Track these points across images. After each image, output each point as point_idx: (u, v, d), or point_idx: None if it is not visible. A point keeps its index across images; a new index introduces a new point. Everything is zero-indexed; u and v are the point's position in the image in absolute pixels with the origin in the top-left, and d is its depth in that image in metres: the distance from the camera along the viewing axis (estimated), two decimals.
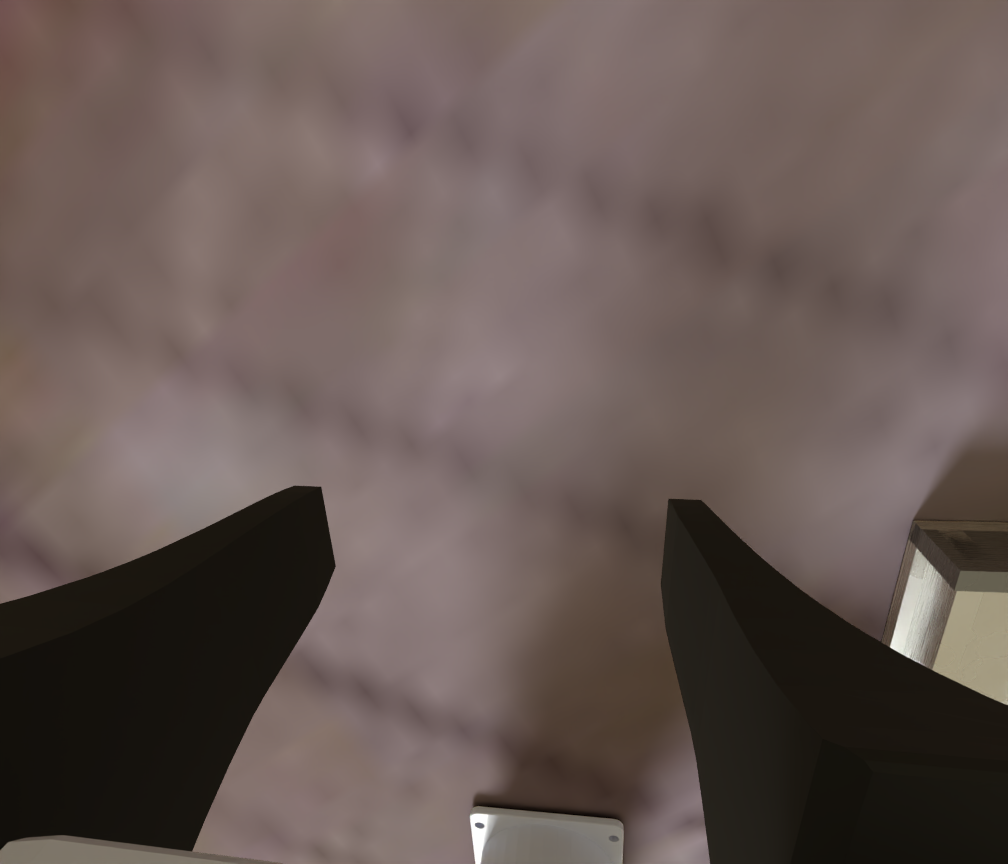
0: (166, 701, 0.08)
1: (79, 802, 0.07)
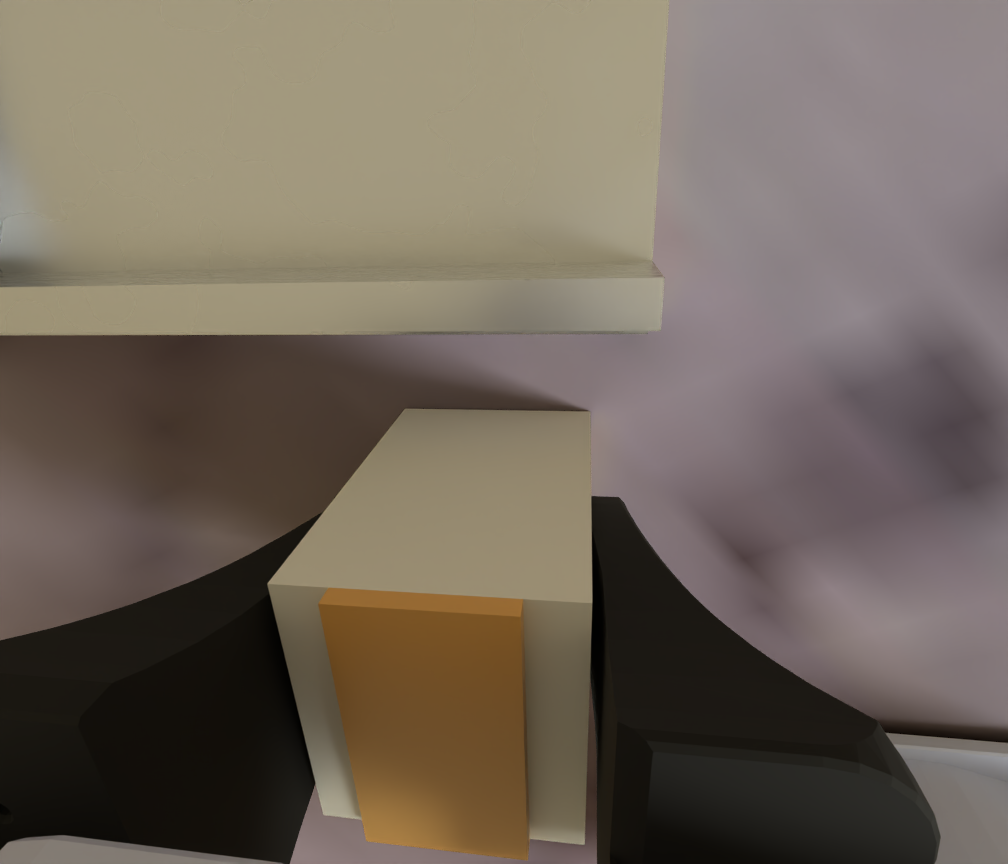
0: (270, 710, 0.08)
1: (202, 817, 0.06)
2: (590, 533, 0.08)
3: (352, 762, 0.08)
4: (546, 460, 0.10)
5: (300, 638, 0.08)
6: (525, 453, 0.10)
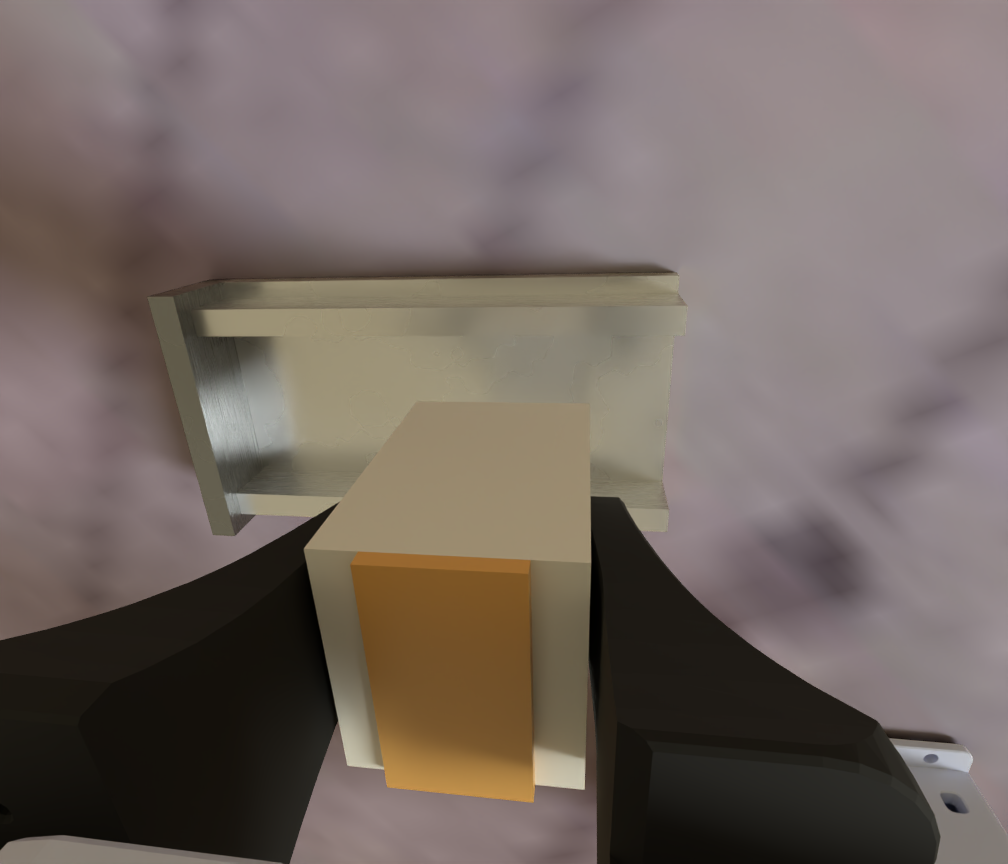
0: (270, 711, 0.08)
1: (202, 817, 0.06)
2: (589, 506, 0.09)
3: (376, 711, 0.09)
4: (549, 446, 0.11)
5: (331, 598, 0.08)
6: (529, 440, 0.11)
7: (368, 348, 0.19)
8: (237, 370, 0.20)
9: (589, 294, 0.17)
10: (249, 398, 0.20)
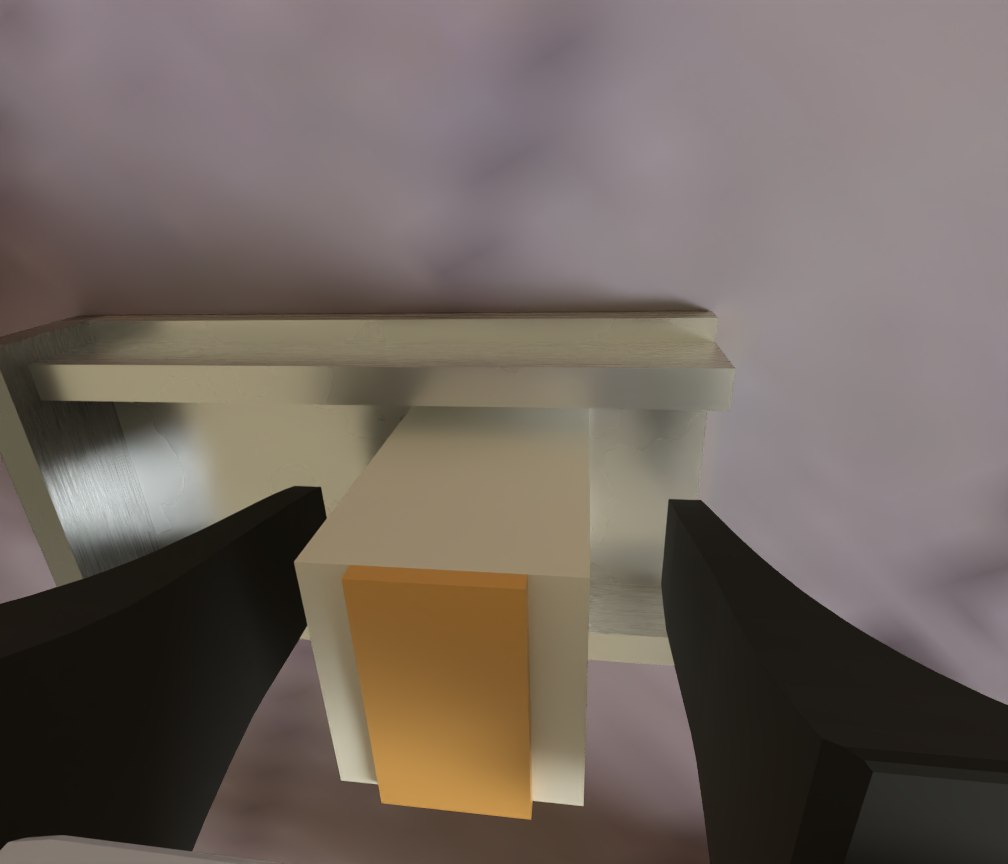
0: (166, 701, 0.08)
1: (79, 802, 0.07)
2: (588, 517, 0.09)
3: (370, 727, 0.09)
4: (547, 453, 0.11)
5: (323, 612, 0.08)
6: (527, 445, 0.11)
7: (288, 410, 0.14)
8: (117, 436, 0.15)
9: (589, 343, 0.12)
10: (138, 471, 0.15)
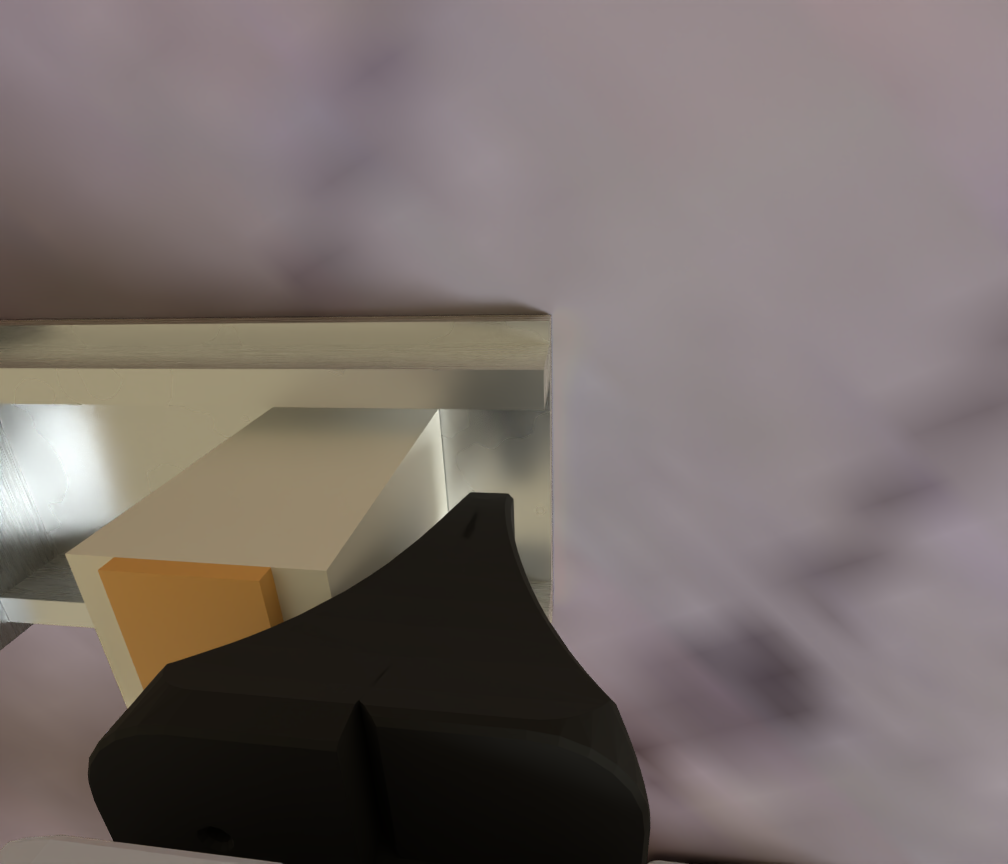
0: None
1: None
2: (364, 514, 0.09)
3: None
4: (368, 452, 0.11)
5: (100, 602, 0.09)
6: (354, 445, 0.12)
7: (158, 411, 0.14)
8: None
9: (431, 345, 0.13)
10: (24, 471, 0.16)
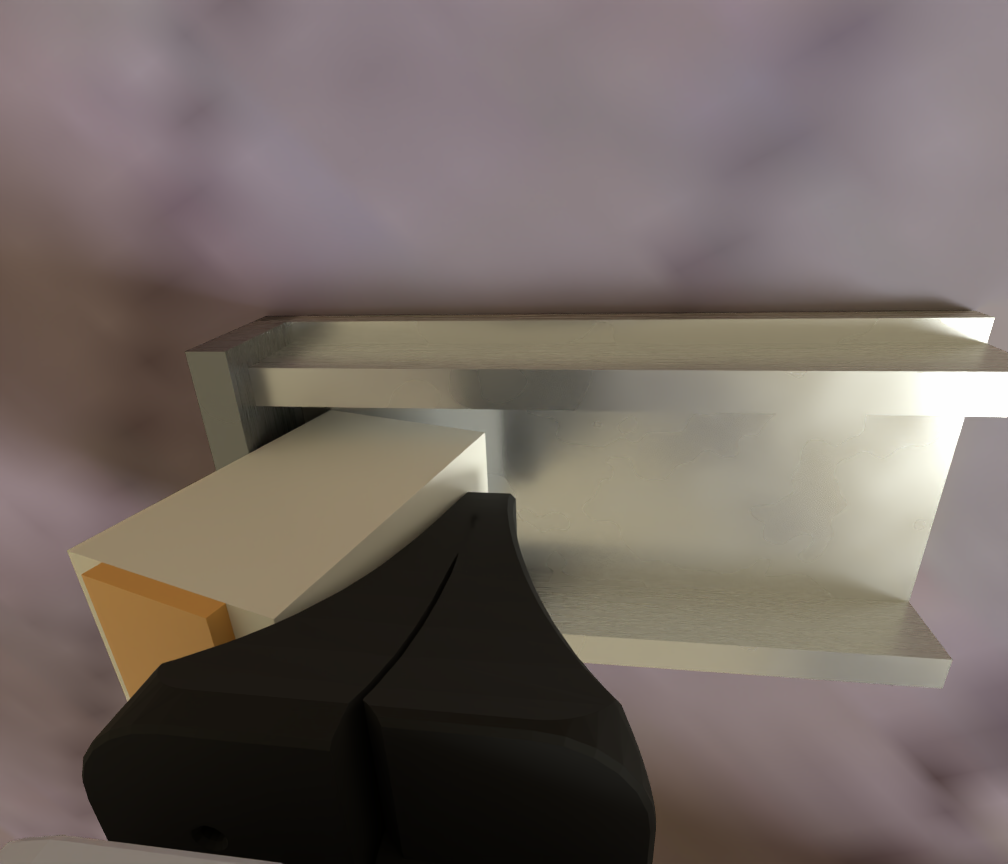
0: None
1: None
2: (346, 553, 0.08)
3: None
4: (389, 476, 0.10)
5: None
6: (379, 466, 0.11)
7: (496, 416, 0.13)
8: None
9: (847, 344, 0.11)
10: None
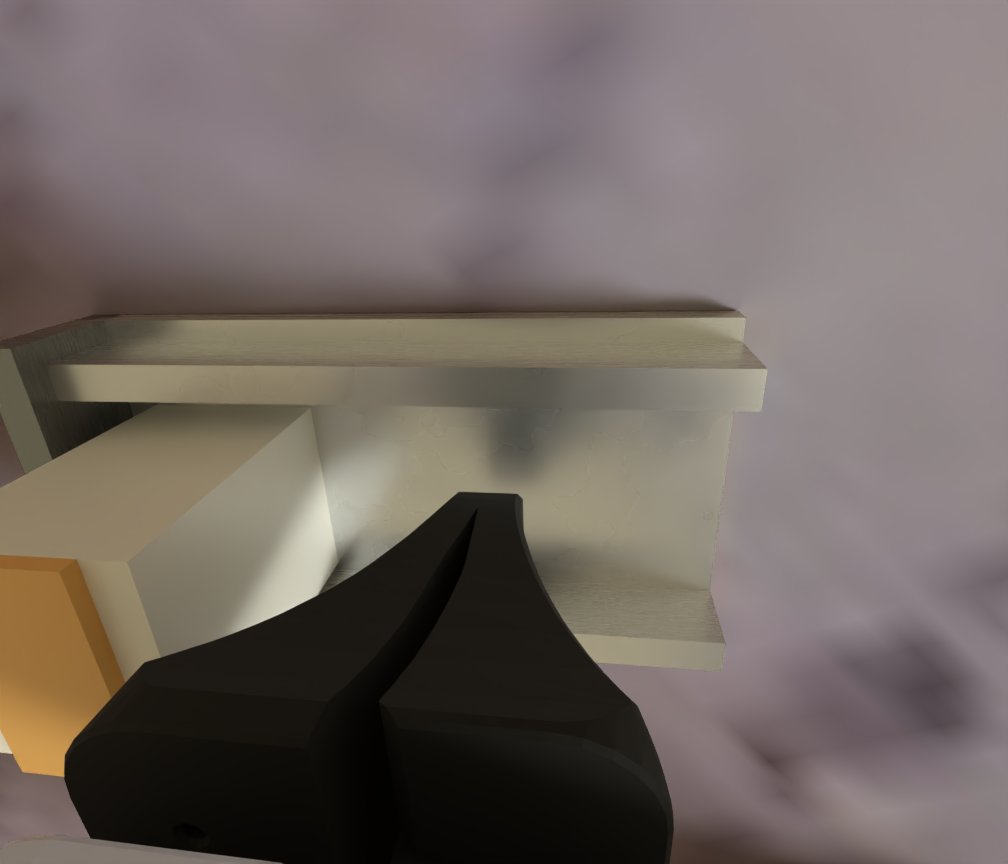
0: None
1: (376, 837, 0.06)
2: (188, 508, 0.10)
3: None
4: (222, 450, 0.12)
5: None
6: (212, 443, 0.12)
7: None
8: None
9: (615, 343, 0.12)
10: None
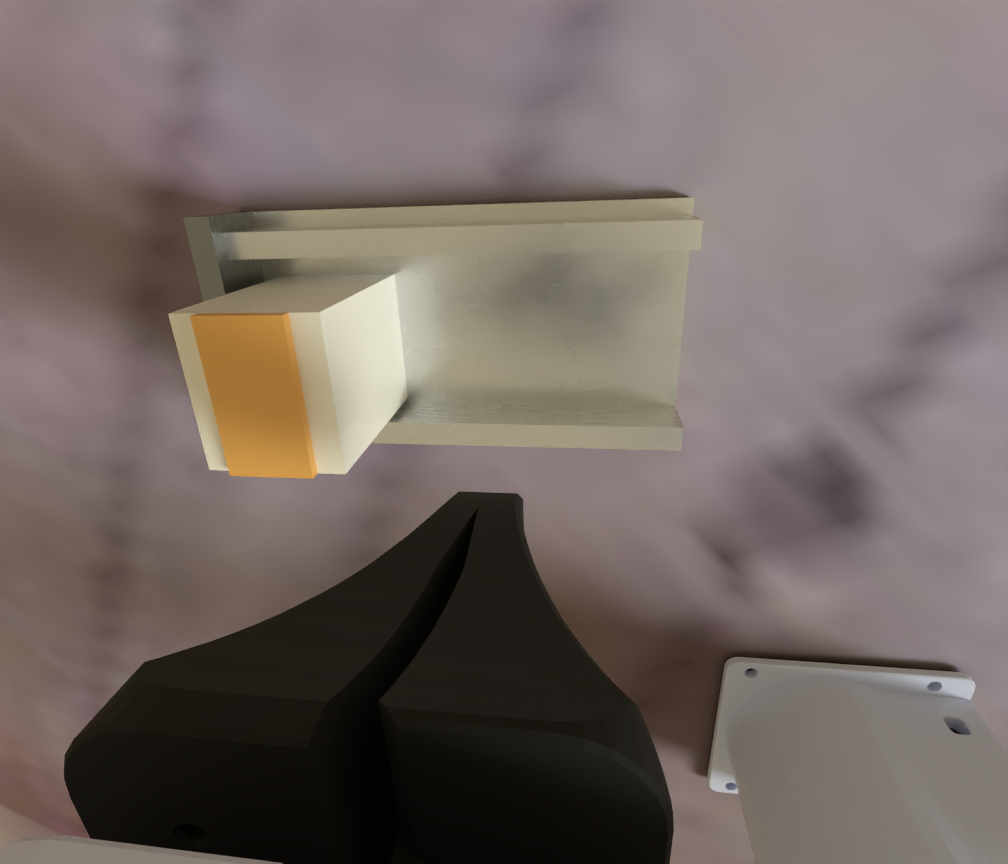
0: None
1: (376, 837, 0.06)
2: (341, 300, 0.15)
3: (216, 417, 0.15)
4: (345, 286, 0.17)
5: (186, 346, 0.15)
6: (336, 285, 0.18)
7: None
8: None
9: (607, 217, 0.18)
10: None
